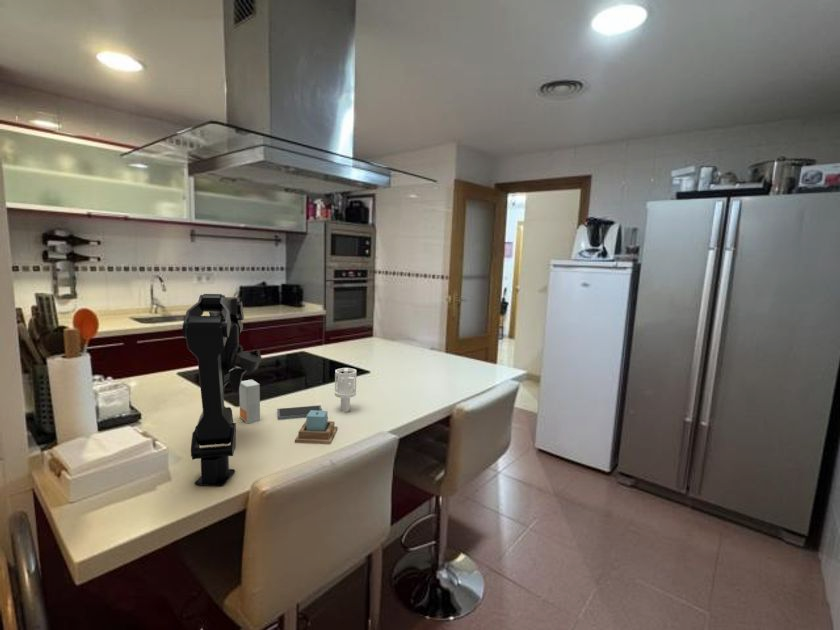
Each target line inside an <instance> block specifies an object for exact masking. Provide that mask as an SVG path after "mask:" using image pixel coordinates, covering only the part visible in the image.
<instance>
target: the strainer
mask: <svg viewBox="0 0 840 630" xmlns="http://www.w3.org/2000/svg"><path fill="white" fill-rule="evenodd" d="M334 371H335V372H334V396H335V397H336V398H340V412H343V413H346V412H349V411H351V409H350V408H351V407H350V406H351V405H350V404H351V398H355V396H356V395H357V369H355V368H351V367H342V368H337V369H335V370H334ZM342 372H343V373H342Z"/></svg>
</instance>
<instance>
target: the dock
mask: <svg viewBox="0 0 840 630" xmlns="http://www.w3.org/2000/svg"><path fill="white" fill-rule="evenodd" d="M335 424H336V423H335V421H329V420H327V430H326V431H306V421H304V423H303V425H302V426H301V428H300V429H299V430H298V433H297V434H298V435H297V436H296V437H295V439H294V443H295V444H297V443H298V444H317V445H331V444H332V441H333V439H334V438H335V435H336V433H337V431H338V426H335Z"/></svg>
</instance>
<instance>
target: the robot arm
mask: <svg viewBox="0 0 840 630" xmlns="http://www.w3.org/2000/svg"><path fill="white" fill-rule="evenodd" d="M205 312H207V313H208V314H209V315H203V314H204V313H205ZM244 319H245V316H244V307H243V302H242V301H240V298H239V297H238V296H237V297H236V296H234V297H233V296H231V297H230V296H225V294H221V293H203V294H200V295H199V298H198V300H197V302H196V303H195V304H194V305H193V306H191V307H190V308H189V309H187V310H186V313H185V316H184V320H183V323H182V337H183V338H184V339H185V341H186V347H187V349H188V350H189V352H191V354H192V355H193V356H194V357H195V358H196V359H197V366H198V376H199V379H198V380H199V385H200V397H201V407H202V412H201V414H200V416H199V418H198V422H197V425H195V428H194V431H193V432H192V436H191V444H190V445H191V446H190V456H191V459H192V461H193V460H200V474H201V475H200V476H199V477H198V478H197V480H196V481H194V485H195V486H213V487H214V486H217V487H222V486H225V484H227V482H228V480H230V478H231V477H232V476H233V475H234V474H235V472H236V469H234V468H230V464H229V463H230V460H229V458H230V457H234V454H235V450H236V446H237V445H236V443H237V424H236V422H234V416H233V410H232V408H231V407H230V406H229V407H226V406H225V399H224V398H225V390H226V386H227V385H228V383H230V386H231V389H232V392H233V393H234V394H236V393H239V387H240V384H241V381H243V376H244V374H245V373H246V372H248V373H253V372H254V371H255V370H258V368H259V365H260V363H261V362H262V361H263V359H262V355H261V351H260V350H258V349H253V350H252V351H244V347H243V346H242V345H241V344H239V343H240V341H239V339H240V338H239V336H240V334H241V332H242V331H243V329H244V323H243V322H242V321H243V320H244ZM201 446H202V447H201ZM204 446H205V447H204Z"/></svg>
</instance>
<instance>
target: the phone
mask: <svg viewBox="0 0 840 630" xmlns="http://www.w3.org/2000/svg"><path fill="white" fill-rule="evenodd" d="M310 410H317V411H323V409H322V406H321V405H307V406H297V407H284V408H277V414H276V415H277V420H278V421H281V420H291V419H303V418H306V416H307V415H308V413H309V412H310Z"/></svg>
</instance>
